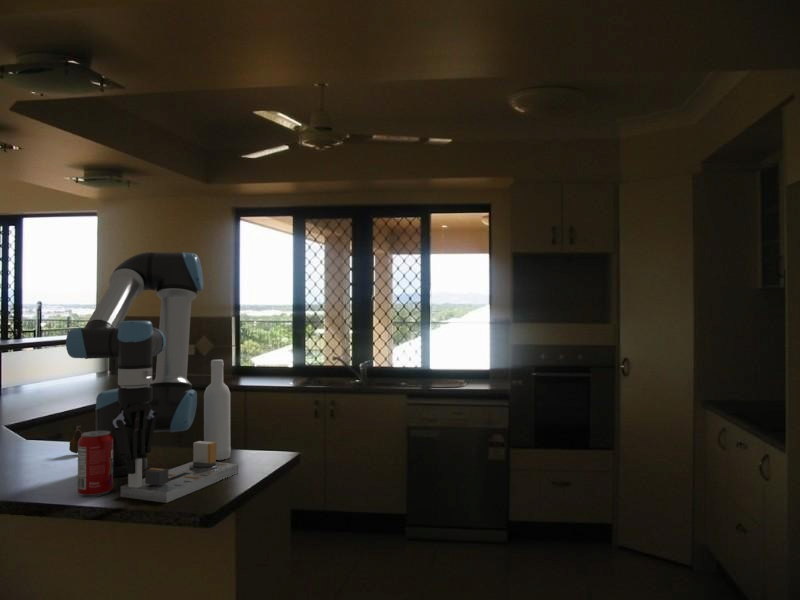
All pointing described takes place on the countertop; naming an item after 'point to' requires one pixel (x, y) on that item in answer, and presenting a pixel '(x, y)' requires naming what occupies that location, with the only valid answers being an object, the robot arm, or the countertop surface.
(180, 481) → the console
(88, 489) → the soda can
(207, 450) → the dial
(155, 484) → the fader
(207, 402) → the bottle
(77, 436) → the amber spray bottle
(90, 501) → the countertop surface
